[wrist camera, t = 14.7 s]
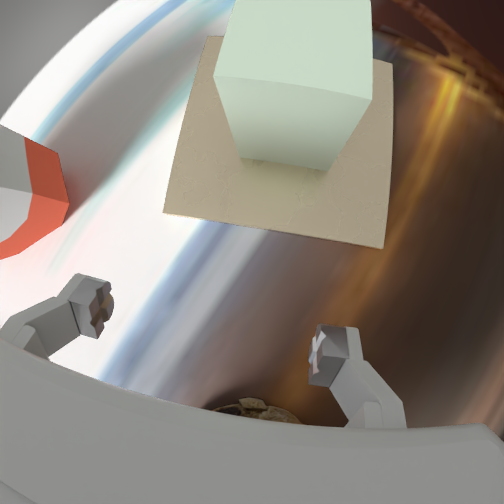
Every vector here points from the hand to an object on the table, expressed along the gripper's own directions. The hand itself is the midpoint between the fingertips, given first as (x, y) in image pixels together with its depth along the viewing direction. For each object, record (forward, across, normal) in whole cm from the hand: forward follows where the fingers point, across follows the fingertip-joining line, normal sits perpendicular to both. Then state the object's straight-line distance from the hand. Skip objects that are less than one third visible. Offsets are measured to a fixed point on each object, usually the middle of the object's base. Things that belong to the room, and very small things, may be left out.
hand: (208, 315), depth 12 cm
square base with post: (+13, +2, +4) cm, 14 cm away
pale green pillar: (+12, +2, +5) cm, 14 cm away
